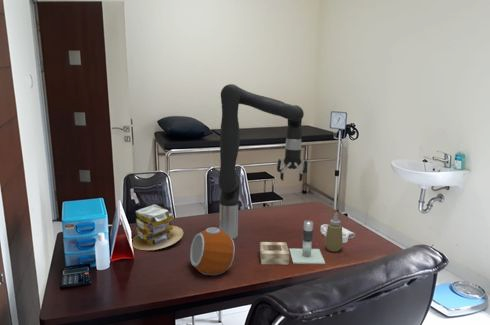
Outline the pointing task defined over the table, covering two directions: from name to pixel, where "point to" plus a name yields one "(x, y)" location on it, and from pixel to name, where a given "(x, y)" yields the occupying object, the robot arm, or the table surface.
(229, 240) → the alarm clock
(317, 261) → the sage mat
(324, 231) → the white brass knuckles
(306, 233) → the steel peg
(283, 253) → the eye block
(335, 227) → the squeeze bottle
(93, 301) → the table surface
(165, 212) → the package stack on board
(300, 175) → the robot arm
